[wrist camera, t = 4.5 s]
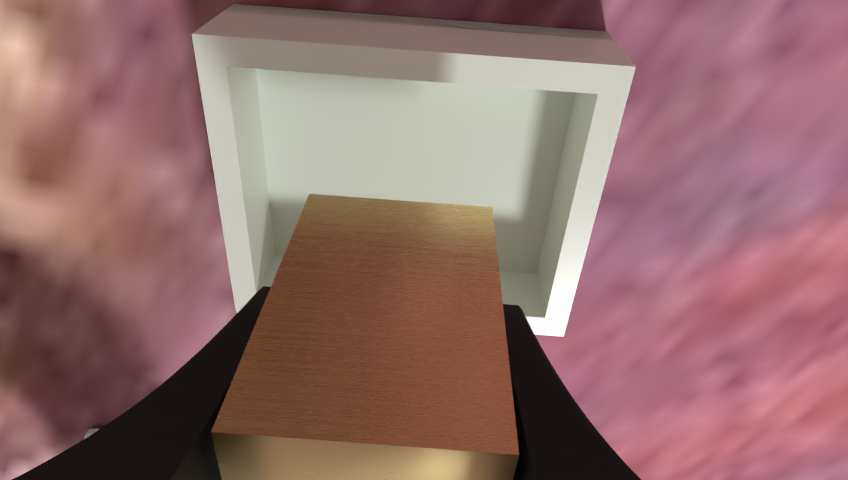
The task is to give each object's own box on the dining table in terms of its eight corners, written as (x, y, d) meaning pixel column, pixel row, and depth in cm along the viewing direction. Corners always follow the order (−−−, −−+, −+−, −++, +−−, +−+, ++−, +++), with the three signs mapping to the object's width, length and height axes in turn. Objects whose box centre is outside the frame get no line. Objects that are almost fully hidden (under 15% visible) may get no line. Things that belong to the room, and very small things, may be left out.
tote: (549, 275, 23) (563, 336, 21) (262, 254, 23) (235, 312, 21) (606, 31, 18) (635, 66, 15) (233, 3, 18) (191, 33, 15)
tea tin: (472, 340, 17) (482, 600, 11) (316, 329, 17) (245, 583, 11) (492, 206, 14) (519, 454, 8) (309, 193, 14) (210, 431, 8)
